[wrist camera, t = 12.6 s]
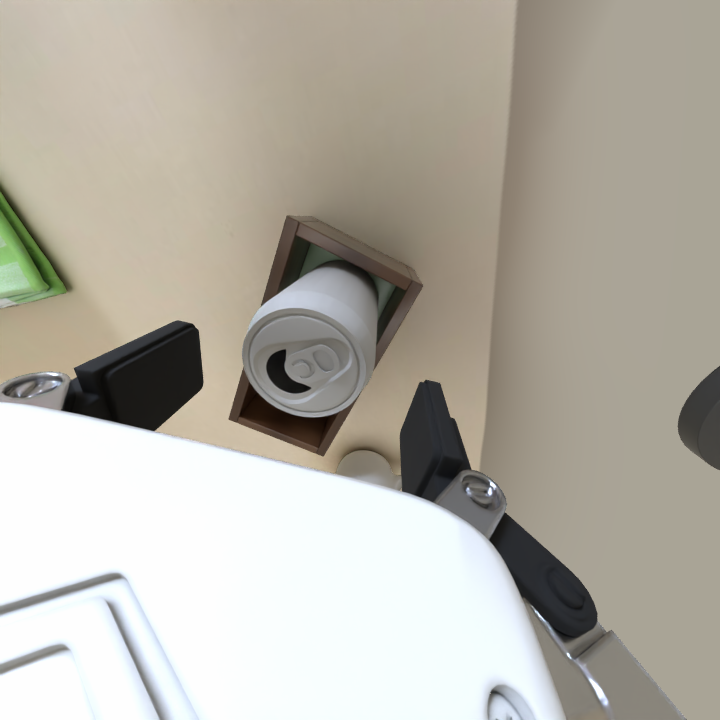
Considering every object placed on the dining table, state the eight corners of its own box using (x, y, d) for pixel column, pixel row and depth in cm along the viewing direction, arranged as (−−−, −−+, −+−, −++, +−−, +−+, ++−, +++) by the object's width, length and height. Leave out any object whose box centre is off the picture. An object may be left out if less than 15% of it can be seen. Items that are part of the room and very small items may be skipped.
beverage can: (289, 280, 22) (201, 336, 11) (358, 243, 20) (330, 271, 10) (326, 344, 24) (282, 438, 14) (390, 316, 23) (396, 401, 12)
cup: (416, 435, 30) (425, 501, 23) (423, 481, 34) (433, 551, 27) (326, 444, 32) (310, 508, 25) (342, 487, 36) (332, 554, 28)
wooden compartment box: (414, 269, 22) (423, 285, 17) (333, 416, 30) (323, 456, 25) (310, 215, 20) (286, 214, 15) (256, 383, 29) (228, 419, 23)
